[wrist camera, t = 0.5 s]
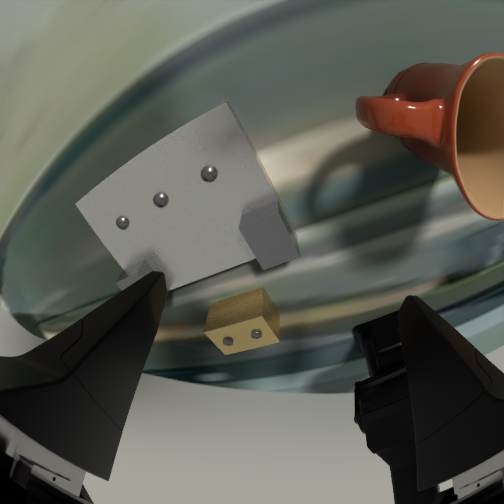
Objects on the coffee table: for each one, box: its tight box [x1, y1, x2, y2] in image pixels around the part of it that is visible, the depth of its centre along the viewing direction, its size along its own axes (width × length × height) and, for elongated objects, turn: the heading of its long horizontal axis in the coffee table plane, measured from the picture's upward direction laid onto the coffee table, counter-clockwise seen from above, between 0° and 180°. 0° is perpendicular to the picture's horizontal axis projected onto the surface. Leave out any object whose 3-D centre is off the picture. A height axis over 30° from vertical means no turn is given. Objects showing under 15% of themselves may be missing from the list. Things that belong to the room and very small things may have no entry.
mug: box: [356, 53, 504, 220], centre depth 12 cm, size 12×9×10 cm
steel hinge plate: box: [76, 102, 300, 298], centre depth 21 cm, size 12×16×3 cm
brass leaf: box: [204, 287, 280, 355], centre depth 26 cm, size 4×6×4 cm, turn 117°
